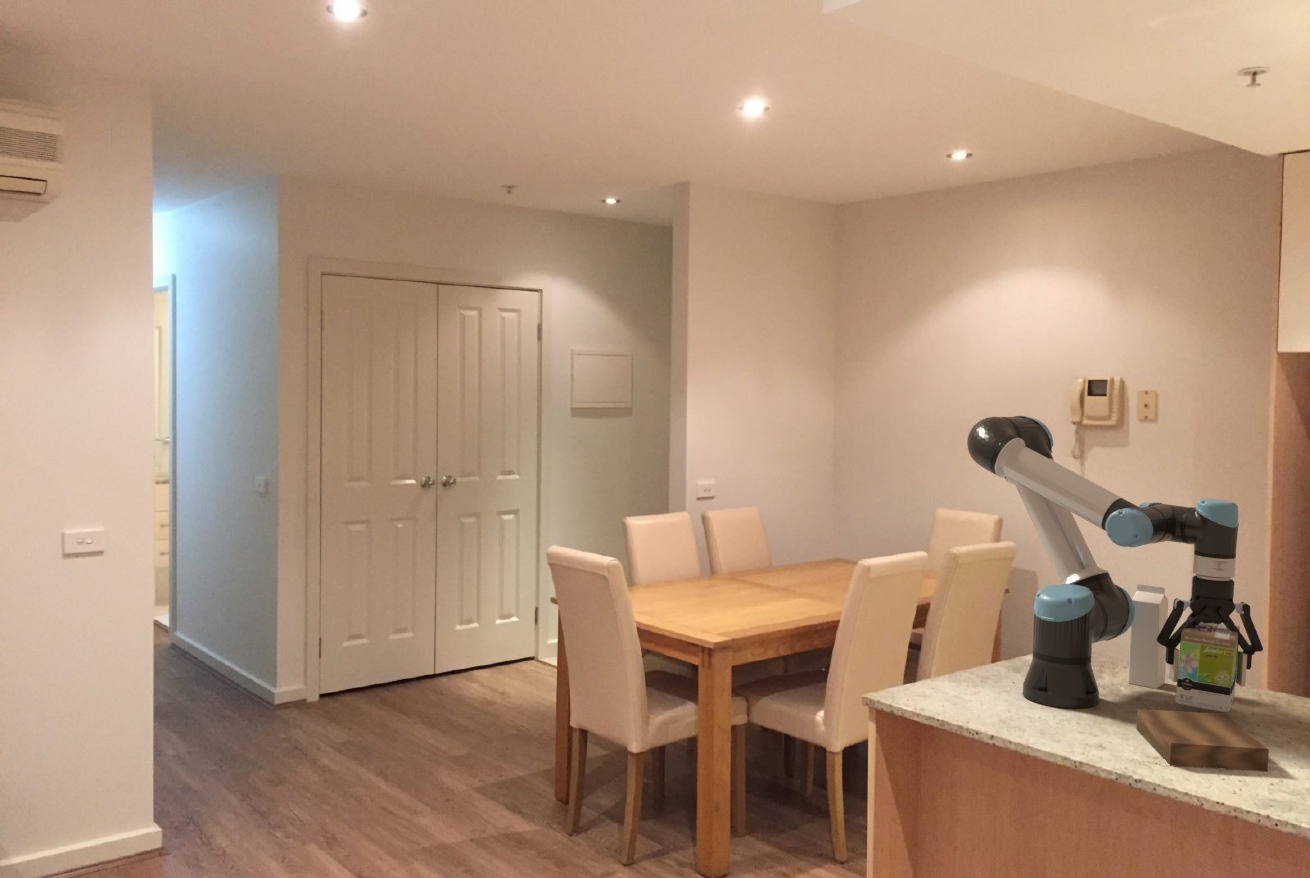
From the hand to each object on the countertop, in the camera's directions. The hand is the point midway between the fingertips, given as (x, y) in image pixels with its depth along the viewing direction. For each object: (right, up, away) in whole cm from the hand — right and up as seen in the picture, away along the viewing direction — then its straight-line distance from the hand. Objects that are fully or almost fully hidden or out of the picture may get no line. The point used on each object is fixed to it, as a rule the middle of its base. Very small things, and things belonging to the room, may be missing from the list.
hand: (1206, 682), depth 219 cm
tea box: (0, -4, 0) cm, 4 cm away
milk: (-1, -6, +23) cm, 24 cm away
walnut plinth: (-12, -8, -20) cm, 25 cm away
